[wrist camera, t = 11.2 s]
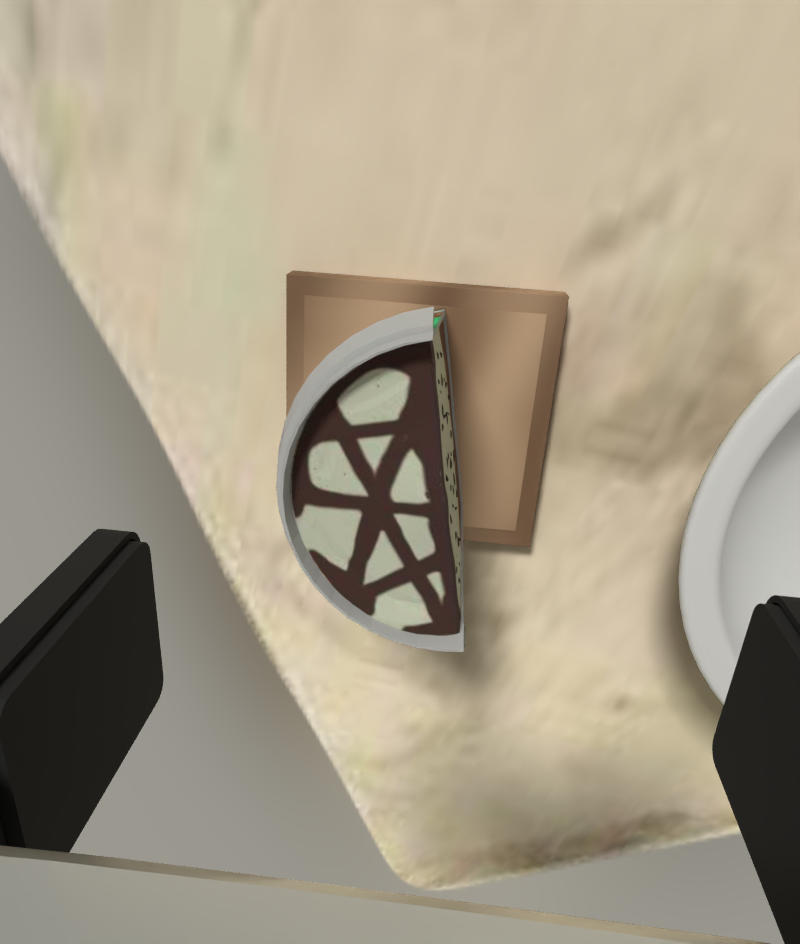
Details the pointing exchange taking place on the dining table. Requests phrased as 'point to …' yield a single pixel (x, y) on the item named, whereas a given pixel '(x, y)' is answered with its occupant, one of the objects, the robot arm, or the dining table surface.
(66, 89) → the dining table surface
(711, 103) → the dining table surface
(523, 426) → the board
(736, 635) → the soup bowl
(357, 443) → the food container
